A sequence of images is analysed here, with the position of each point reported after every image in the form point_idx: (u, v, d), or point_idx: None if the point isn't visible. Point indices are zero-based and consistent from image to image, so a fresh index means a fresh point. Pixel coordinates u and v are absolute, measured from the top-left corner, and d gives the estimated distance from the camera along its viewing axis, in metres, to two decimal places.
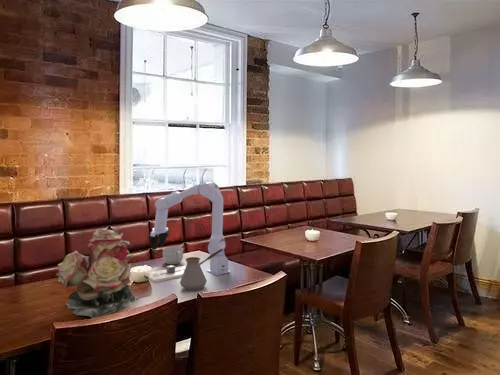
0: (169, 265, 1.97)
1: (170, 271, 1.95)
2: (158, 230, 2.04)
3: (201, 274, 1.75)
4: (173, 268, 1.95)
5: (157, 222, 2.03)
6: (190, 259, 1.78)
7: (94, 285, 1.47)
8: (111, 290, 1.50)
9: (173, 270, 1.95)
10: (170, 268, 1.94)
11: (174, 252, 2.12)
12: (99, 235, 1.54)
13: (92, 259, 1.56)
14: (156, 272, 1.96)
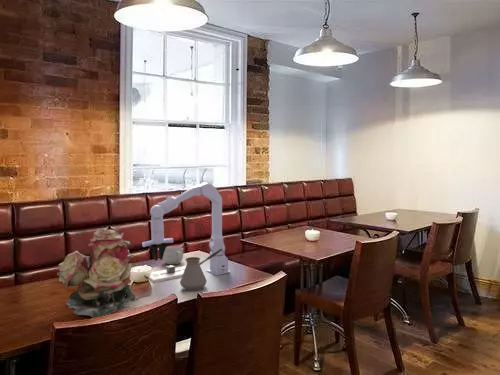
0: (169, 265, 1.97)
1: (170, 271, 1.95)
2: (152, 240, 1.89)
3: (201, 274, 1.75)
4: (173, 268, 1.95)
5: (151, 232, 1.90)
6: (190, 259, 1.78)
7: (95, 285, 1.47)
8: (112, 290, 1.50)
9: (173, 270, 1.95)
10: (170, 268, 1.94)
11: (174, 252, 2.12)
12: (100, 235, 1.54)
13: (92, 259, 1.56)
14: (156, 272, 1.96)
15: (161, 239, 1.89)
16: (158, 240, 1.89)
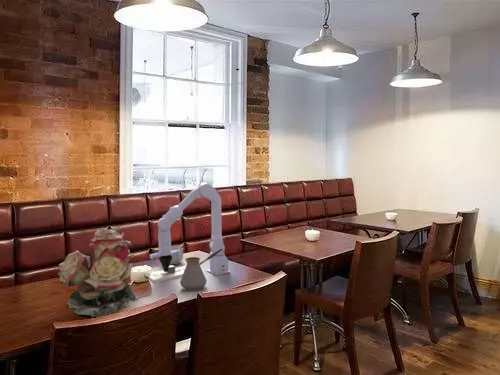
0: (169, 265, 1.97)
1: (170, 271, 1.95)
2: (160, 252, 1.92)
3: (201, 274, 1.75)
4: (173, 268, 1.95)
5: None
6: (190, 259, 1.78)
7: (95, 284, 1.48)
8: (112, 289, 1.50)
9: (173, 270, 1.95)
10: (170, 268, 1.95)
11: None
12: (100, 235, 1.54)
13: (93, 258, 1.56)
14: (156, 272, 1.96)
15: (168, 251, 1.92)
16: (165, 252, 1.91)
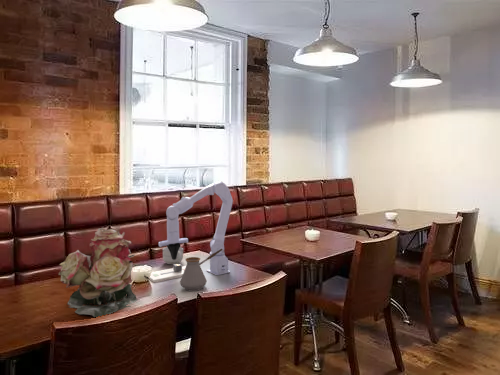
0: (176, 264, 1.99)
1: (177, 270, 1.97)
2: (168, 240, 1.94)
3: (201, 274, 1.75)
4: (180, 267, 1.97)
5: (167, 232, 1.94)
6: (190, 259, 1.78)
7: (96, 284, 1.48)
8: (113, 289, 1.50)
9: (180, 269, 1.97)
10: (177, 267, 1.96)
11: None
12: (101, 234, 1.55)
13: (93, 258, 1.57)
14: (156, 272, 1.96)
15: (177, 239, 1.94)
16: (174, 240, 1.93)
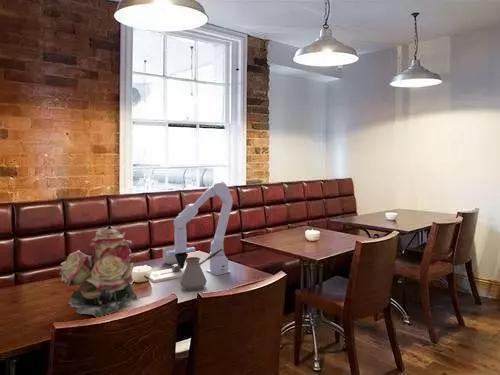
0: (175, 264, 1.99)
1: (176, 270, 1.96)
2: (176, 250, 1.96)
3: (201, 274, 1.75)
4: (179, 267, 1.97)
5: (175, 241, 1.97)
6: (190, 259, 1.78)
7: (97, 284, 1.48)
8: (114, 289, 1.51)
9: (179, 269, 1.97)
10: (176, 267, 1.96)
11: None
12: (102, 234, 1.55)
13: (94, 258, 1.57)
14: (156, 272, 1.96)
15: (184, 248, 1.97)
16: (181, 249, 1.96)
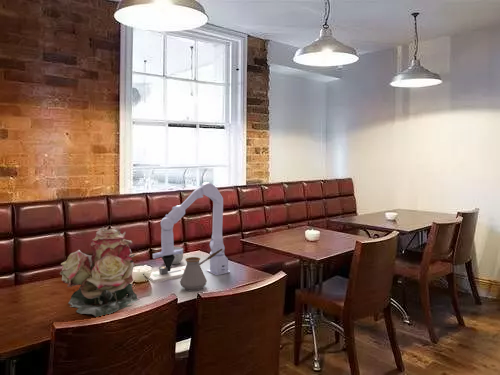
0: None
1: (163, 272, 1.92)
2: (162, 252, 1.93)
3: (201, 274, 1.75)
4: (166, 269, 1.93)
5: (161, 243, 1.93)
6: (190, 259, 1.78)
7: (98, 284, 1.48)
8: (114, 289, 1.51)
9: (166, 271, 1.93)
10: (163, 269, 1.92)
11: None
12: (102, 234, 1.55)
13: (95, 258, 1.57)
14: (156, 272, 1.96)
15: (171, 251, 1.93)
16: (168, 252, 1.92)
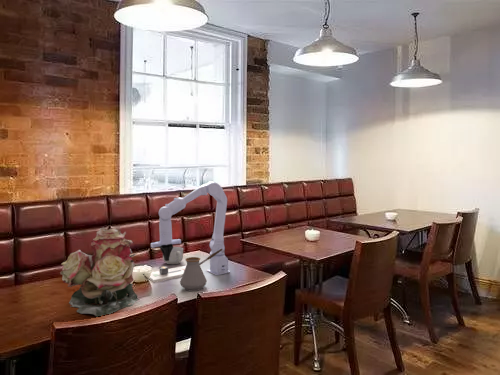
0: None
1: (163, 272, 1.93)
2: (161, 241, 1.92)
3: (201, 274, 1.75)
4: (166, 269, 1.93)
5: None
6: (190, 259, 1.78)
7: (98, 283, 1.49)
8: (115, 288, 1.51)
9: (166, 271, 1.93)
10: (163, 269, 1.92)
11: (174, 252, 2.12)
12: (102, 234, 1.55)
13: (95, 258, 1.57)
14: (156, 272, 1.96)
15: (169, 240, 1.92)
16: (166, 241, 1.91)
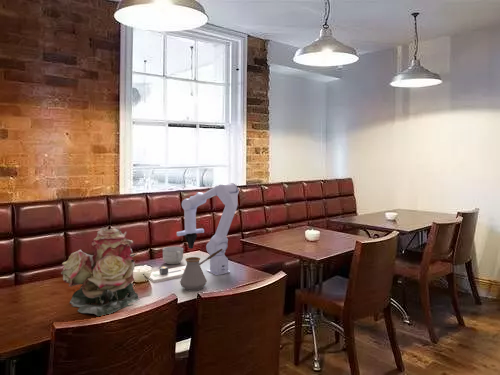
0: None
1: (163, 272, 1.93)
2: (186, 230, 2.06)
3: (201, 274, 1.75)
4: (166, 269, 1.93)
5: None
6: (190, 259, 1.78)
7: (99, 283, 1.49)
8: (116, 288, 1.52)
9: (166, 271, 1.93)
10: (163, 269, 1.92)
11: (174, 252, 2.12)
12: (103, 234, 1.56)
13: (96, 257, 1.58)
14: (156, 272, 1.96)
15: (194, 229, 2.07)
16: (191, 230, 2.06)
